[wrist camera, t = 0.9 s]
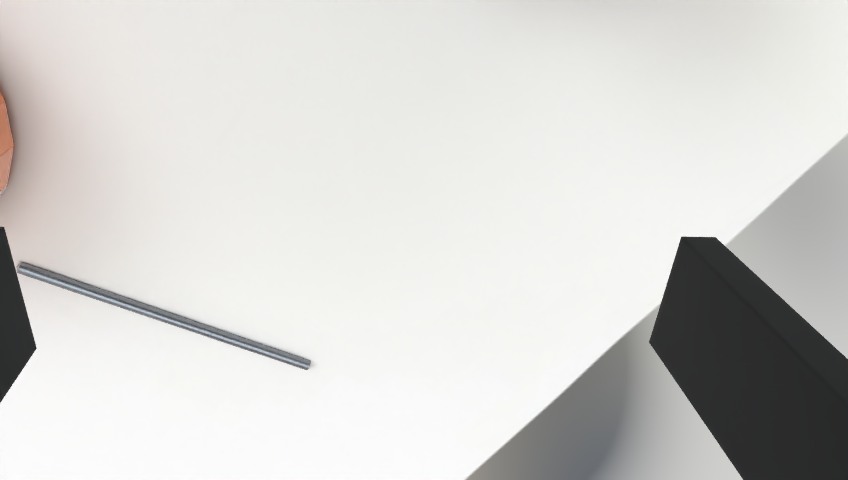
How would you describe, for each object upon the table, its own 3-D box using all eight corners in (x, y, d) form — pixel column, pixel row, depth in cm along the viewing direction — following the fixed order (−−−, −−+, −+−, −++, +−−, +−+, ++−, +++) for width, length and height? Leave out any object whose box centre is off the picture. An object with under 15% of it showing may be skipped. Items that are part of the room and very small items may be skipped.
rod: (20, 259, 38) (15, 264, 38) (310, 358, 44) (310, 364, 44) (18, 268, 39) (12, 273, 38) (306, 365, 45) (306, 372, 44)
